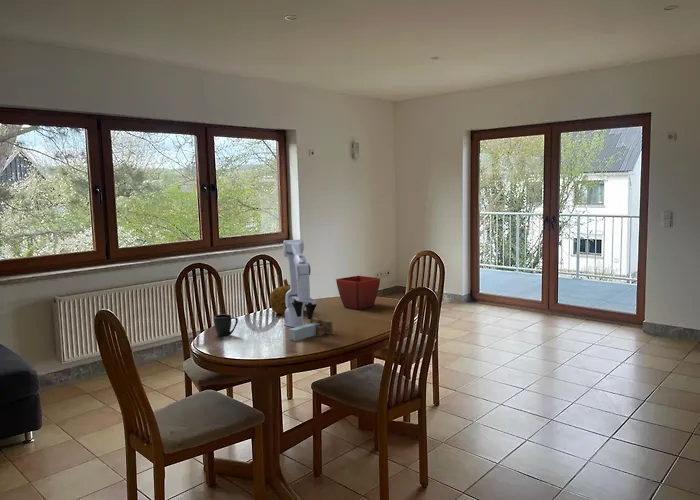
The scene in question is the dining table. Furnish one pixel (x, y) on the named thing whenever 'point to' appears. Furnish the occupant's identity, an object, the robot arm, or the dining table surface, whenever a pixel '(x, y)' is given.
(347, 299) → the plant pot
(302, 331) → the rail
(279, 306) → the decorative pumpkin
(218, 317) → the mug
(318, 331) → the plank with two pegs
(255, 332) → the dining table surface
